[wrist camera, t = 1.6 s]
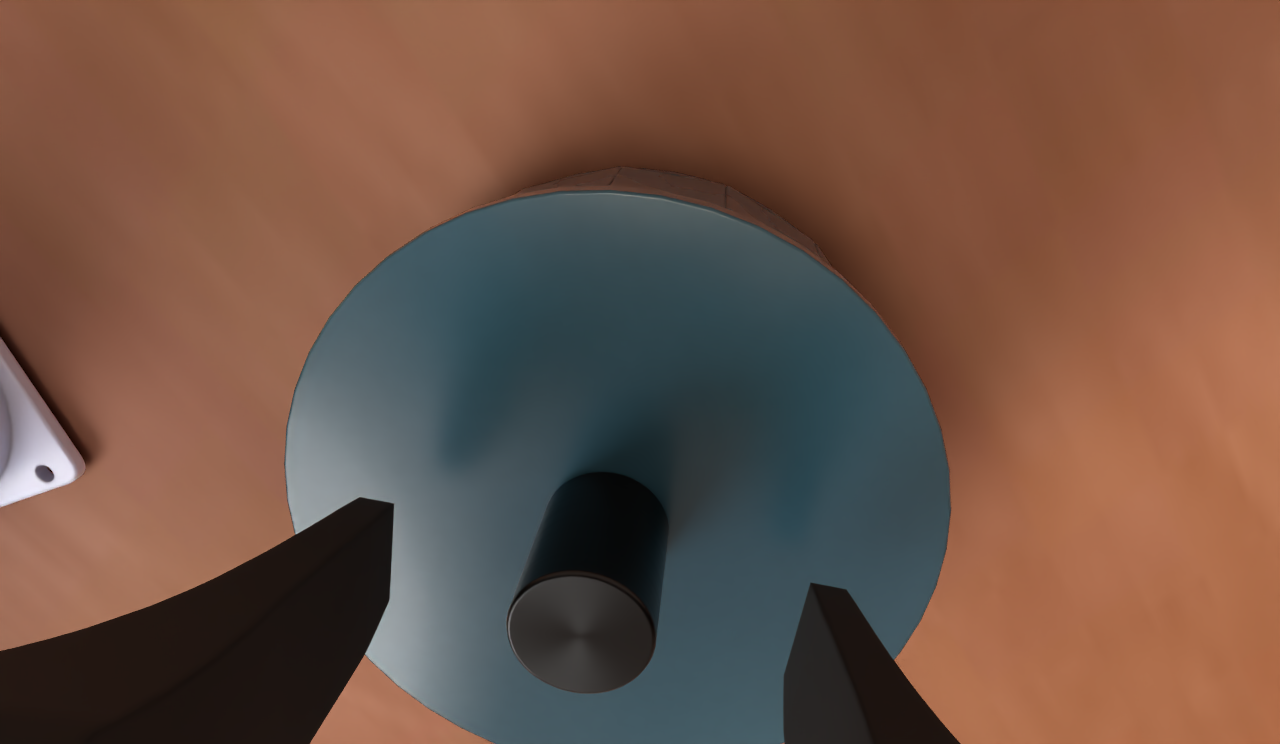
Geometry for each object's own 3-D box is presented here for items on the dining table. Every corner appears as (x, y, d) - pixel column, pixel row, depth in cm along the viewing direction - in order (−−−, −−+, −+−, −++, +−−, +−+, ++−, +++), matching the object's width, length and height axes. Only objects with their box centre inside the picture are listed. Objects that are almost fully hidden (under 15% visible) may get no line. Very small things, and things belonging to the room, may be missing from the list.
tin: (397, 554, 24) (317, 682, 19) (419, 126, 19) (321, 159, 15) (811, 633, 23) (832, 782, 19) (935, 217, 19) (1003, 280, 14)
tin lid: (308, 676, 20) (204, 838, 16) (308, 120, 15) (158, 156, 11) (845, 780, 20) (875, 972, 16) (1031, 247, 15) (1144, 333, 11)
